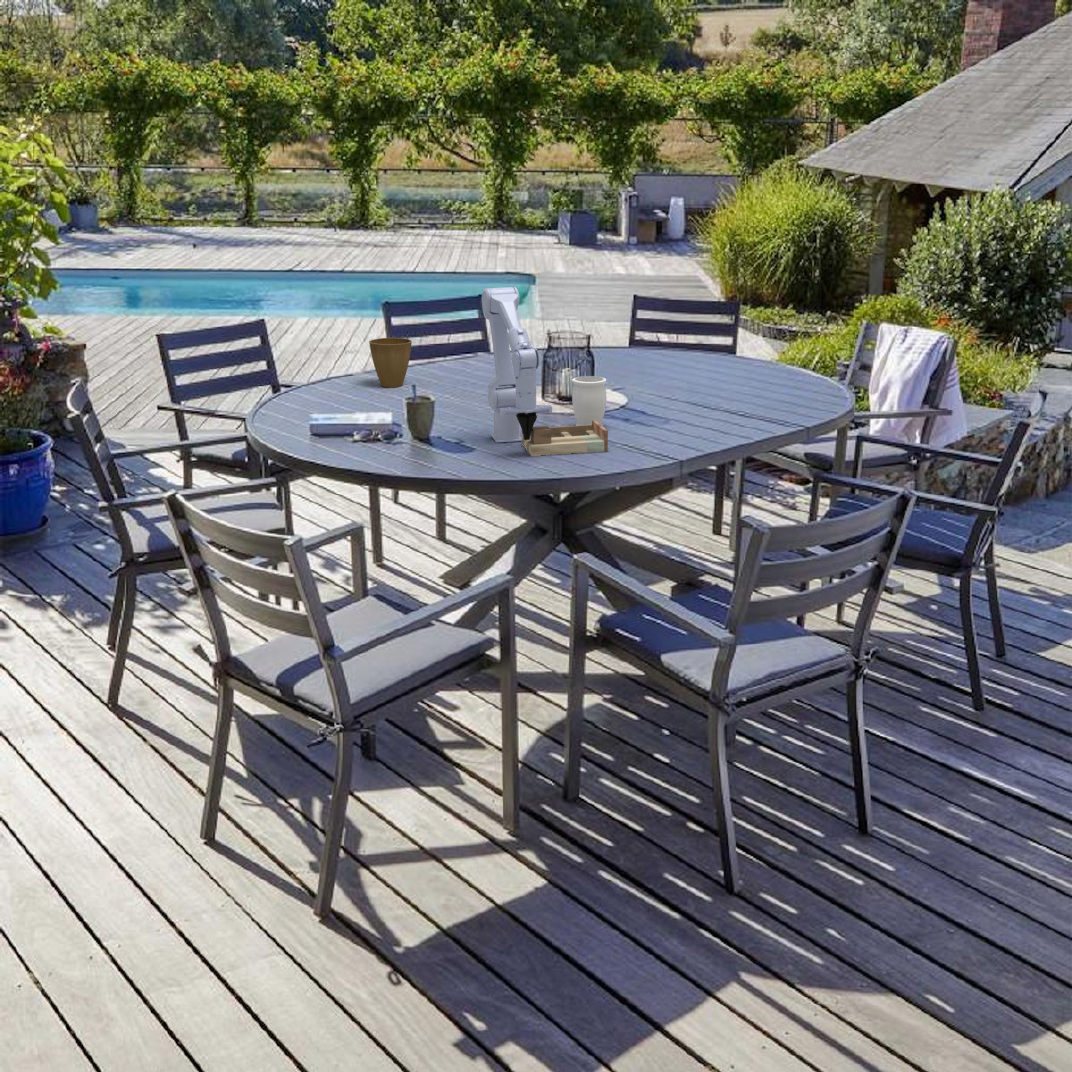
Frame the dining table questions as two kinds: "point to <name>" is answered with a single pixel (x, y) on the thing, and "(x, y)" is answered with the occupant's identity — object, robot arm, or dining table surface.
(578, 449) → the trap box
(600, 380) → the jar
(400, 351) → the plant pot
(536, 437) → the walnut block
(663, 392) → the dining table surface
